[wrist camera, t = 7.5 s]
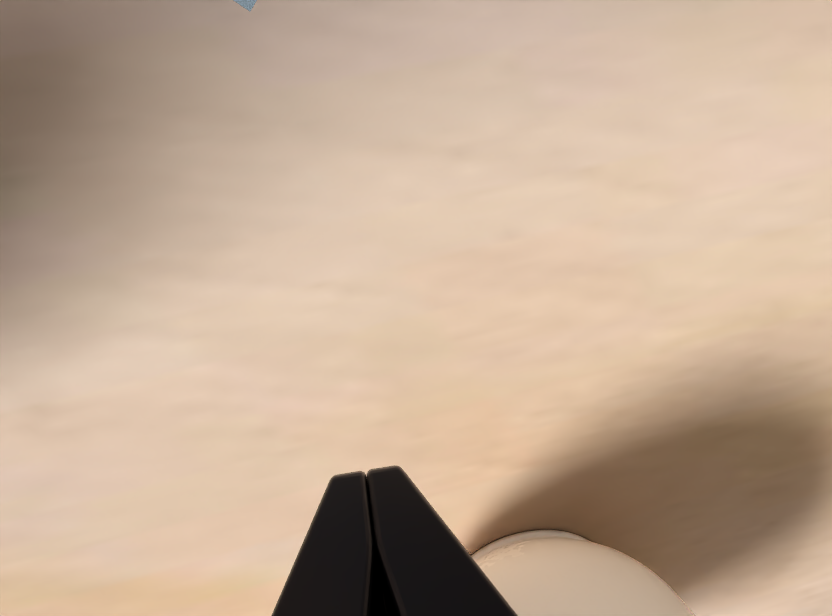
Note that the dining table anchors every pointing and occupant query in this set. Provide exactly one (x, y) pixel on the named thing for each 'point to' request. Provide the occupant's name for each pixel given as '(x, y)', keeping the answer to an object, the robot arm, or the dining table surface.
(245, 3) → the gate
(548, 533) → the lidded jar
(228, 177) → the dining table surface
